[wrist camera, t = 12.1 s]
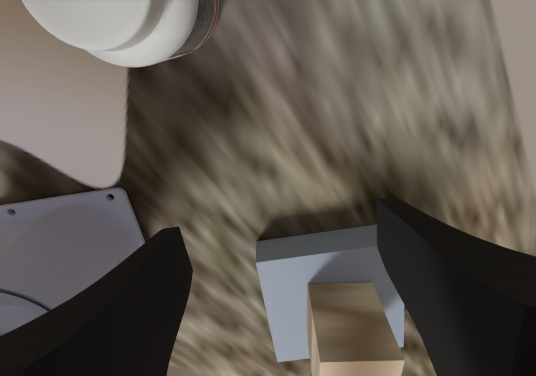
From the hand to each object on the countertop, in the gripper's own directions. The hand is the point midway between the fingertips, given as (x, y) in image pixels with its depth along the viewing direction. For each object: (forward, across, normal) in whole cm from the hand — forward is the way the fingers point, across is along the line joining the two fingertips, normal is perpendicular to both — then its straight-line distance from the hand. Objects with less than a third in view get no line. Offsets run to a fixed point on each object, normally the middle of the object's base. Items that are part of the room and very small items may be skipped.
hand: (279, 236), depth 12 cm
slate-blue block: (+11, -3, +12) cm, 16 cm away
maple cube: (+8, -3, +12) cm, 15 cm away
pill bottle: (+11, +4, -9) cm, 15 cm away
